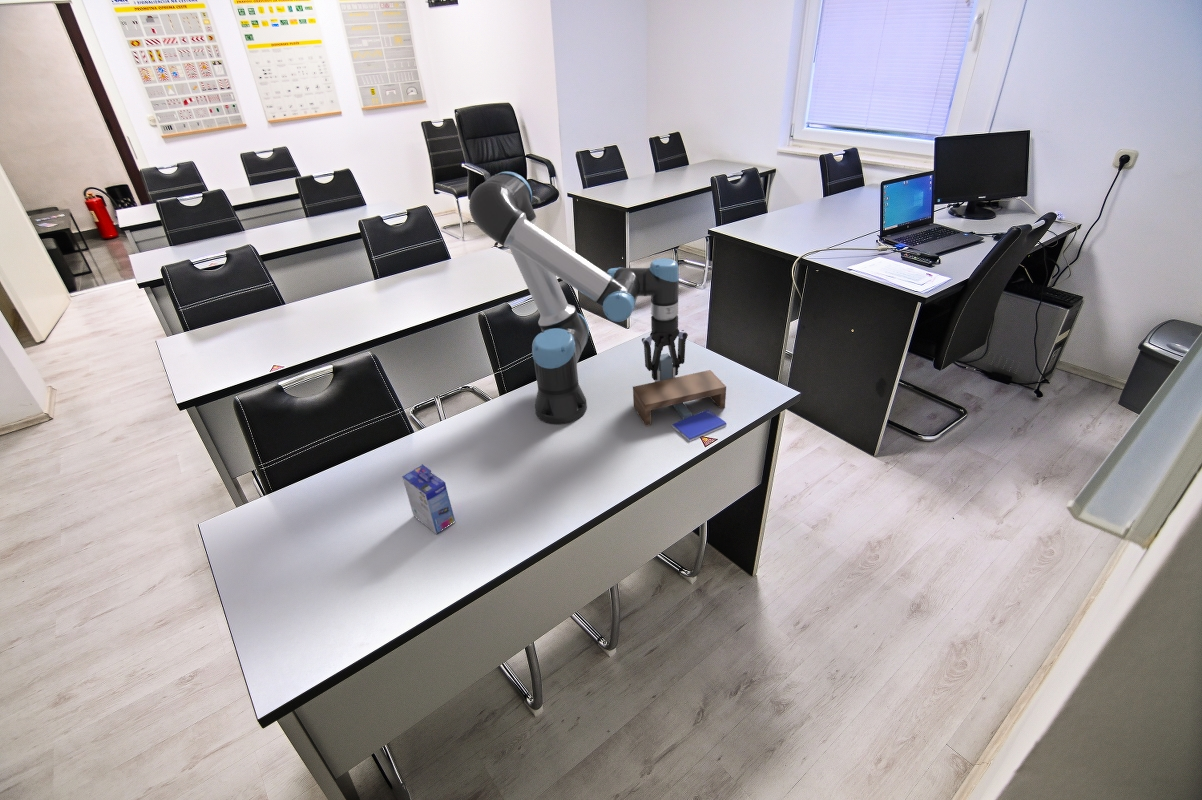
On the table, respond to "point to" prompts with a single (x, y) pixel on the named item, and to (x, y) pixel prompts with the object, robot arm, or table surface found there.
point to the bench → (677, 392)
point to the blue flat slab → (699, 425)
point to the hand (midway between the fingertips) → (664, 386)
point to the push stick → (666, 373)
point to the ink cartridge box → (428, 498)
